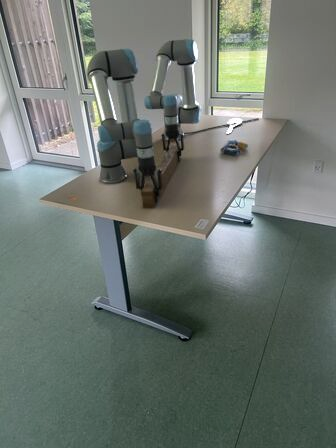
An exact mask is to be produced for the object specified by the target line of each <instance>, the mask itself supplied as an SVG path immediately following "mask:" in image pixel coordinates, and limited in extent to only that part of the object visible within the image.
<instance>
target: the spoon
mask: <svg viewBox="0 0 336 448" xmlns="http://www.w3.org/2000/svg"><path fill="white" fill-rule="evenodd" d="M242 121H243V119H242V118H239V117H238V118H237V117H235V118H231V119H229V120H228V121H227V124H228V125H227V126H229V128H228V129H227V131H226V134H227V135H229V134H232V131H233V128H234V127H237V126H239V125H241V124H242V123H241V122H242ZM236 122H238V123H236ZM231 123H236V124H231Z"/></svg>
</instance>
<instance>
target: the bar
mask: <svg viewBox="0 0 336 448" xmlns="http://www.w3.org/2000/svg"><path fill="white" fill-rule="evenodd" d="M178 164H179V162H178V147H177V145H170V147H169V150H168V152H166V153H165V155H164V156H163V157H162V159H161V161H160V162H159V164H158V165H157V166H156V168H159V169H160V168H162V172H161V174H162V183H163V187H162V189H161V190H159V192H160V195H159V196H158V200H159V199H160V198H161V195H162V194H163V191H164V190H165V188H166V186H167V184H168V182H169V180H170V179H171V177H172V175H173V174H174V171H175V170H176V168H177V167H178ZM154 173H155V177H156V180H157V183H158V173H157V171H156V170H155V172H154ZM158 185H159V183H158ZM154 191H155V187H154V184H153V182H152V179H151V178H150V177H149V178H148V180H147V182H146V183H145V184H144V188H143V189H142V191H141V190H140V195H141V194H142V196H141V201H142V208H144V209H154V208H155V206H156V205H157V203H155V194H154Z"/></svg>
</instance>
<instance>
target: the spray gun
mask: <svg viewBox="0 0 336 448" xmlns="http://www.w3.org/2000/svg"><path fill="white" fill-rule="evenodd" d="M248 147H249V145H248V143H246V142H243V141H238V140H236V139H234V140H228V139H227V142H226V143H225V144H224V145H223V146H222V147H221V149H220V153H221V154H223V155H225V154H226V155H230V156H238V155H240V154H241V152H242V150H243V151H247V149H248Z"/></svg>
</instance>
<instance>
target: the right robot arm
mask: <svg viewBox="0 0 336 448" xmlns="http://www.w3.org/2000/svg"><path fill="white" fill-rule="evenodd" d="M197 46H198V45H197V43H196V40H194V39H192V38H191V39H190V38H186V39H185V38H184V39H175V40H168V41H166V42H165V43H163V44H162V45H161V47H160V48H159V49H158V51H157V54H156V57H155V63H156V64H155V69H154V73H153V78H152V83H151V88H150V92H149V95H146V96H145V97H144V100H143V101H144V103H143V104H144V107H145V109H146V110H163V121H164V130H163V133H162V134H161V135H160V136H161V138H162V150H163V151H164V152H166V153H167V152H168V150H169V149H170V147H171V142H175V144H176V146H177V147H178V163H180V162H181V157H182V151H184V149H185V142H184V141H185V139H184V137H185V135H190V134H191V135H192V134H196V133H197V134H198V133H200V132H204V131H207V130H213V129H216V128H222V127H227V126H229V125H228V123H227V124H221V125H216V126H212V127H207V128H203V129H199V130H196V131H190V132H188V131H187V132H183V129H182V126H181V125H186V124H187V125H194V124H196V125H197V124H199V122H200V120H201V114H202V107H201V106H200V105H199V103H198V102H197V100H196V99H197V98H196V86H195V72H194V65H195V64H196V60H198V56H199V55H198V47H197ZM172 62H176V65H177V66H178V67H179V71H180V82H181V83H180V84H181V92H182V94H181V95H180V94H179V93H174V94H170V93H169V94H166V95H163V94H164V89H165V85H166V80H167V76H168V75H167V73H168V70H169V66H171V63H172ZM258 120H260V118H259V117H257V118H252V119H248V120H242V122H241V124H243V123H247V122H252V121H258ZM236 123H238V122H236ZM236 123H231V124H236Z"/></svg>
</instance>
